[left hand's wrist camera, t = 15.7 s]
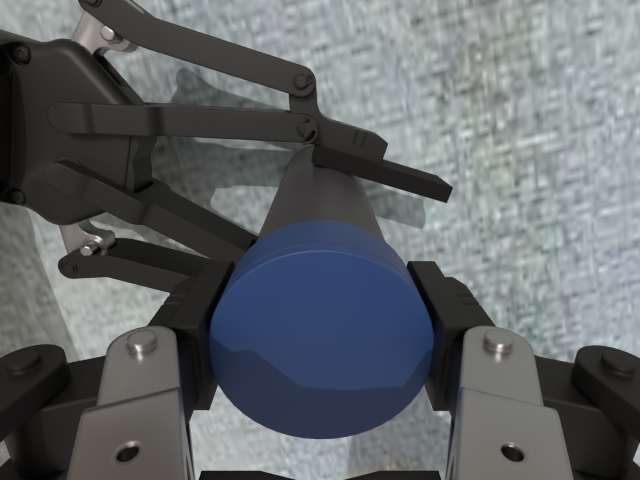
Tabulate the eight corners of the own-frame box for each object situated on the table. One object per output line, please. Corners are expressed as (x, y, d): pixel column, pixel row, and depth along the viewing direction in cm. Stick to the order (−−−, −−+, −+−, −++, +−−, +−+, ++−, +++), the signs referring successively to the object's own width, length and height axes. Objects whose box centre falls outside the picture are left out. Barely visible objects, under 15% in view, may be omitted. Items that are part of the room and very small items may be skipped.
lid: (450, 266, 10) (479, 306, 9) (362, 405, 12) (369, 464, 10) (269, 186, 10) (256, 210, 8) (201, 346, 11) (177, 398, 9)
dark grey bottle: (320, 228, 27) (321, 441, 11) (270, 180, 26) (184, 339, 10) (371, 180, 26) (457, 339, 10) (320, 128, 25) (320, 208, 8)
